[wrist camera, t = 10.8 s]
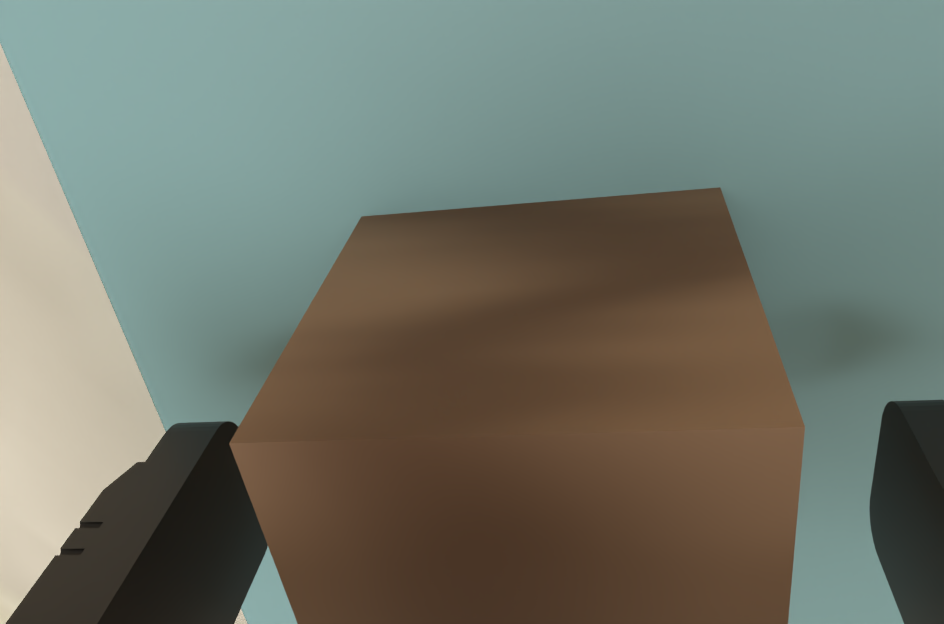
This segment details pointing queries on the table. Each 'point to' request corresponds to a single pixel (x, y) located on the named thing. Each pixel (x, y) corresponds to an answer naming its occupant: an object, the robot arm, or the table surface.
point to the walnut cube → (532, 423)
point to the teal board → (511, 184)
